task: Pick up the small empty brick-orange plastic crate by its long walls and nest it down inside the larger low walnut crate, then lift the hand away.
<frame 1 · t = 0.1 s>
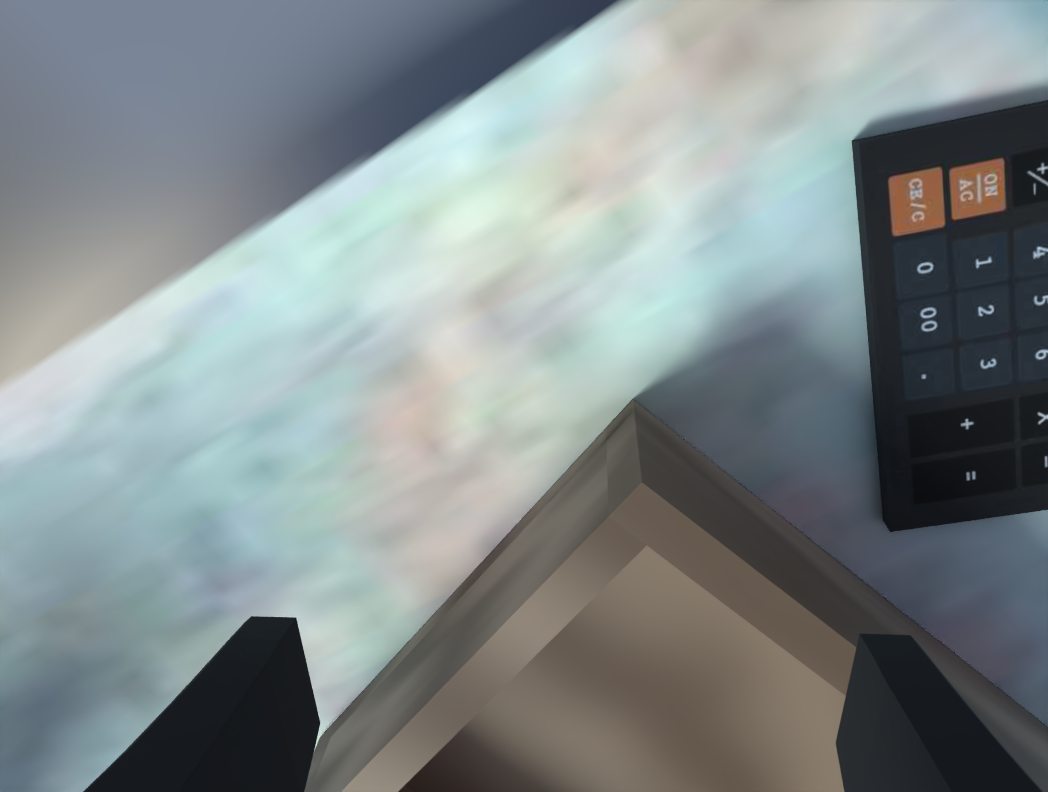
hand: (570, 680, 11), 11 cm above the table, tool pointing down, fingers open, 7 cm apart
walnut crate: (684, 743, 25), on the table
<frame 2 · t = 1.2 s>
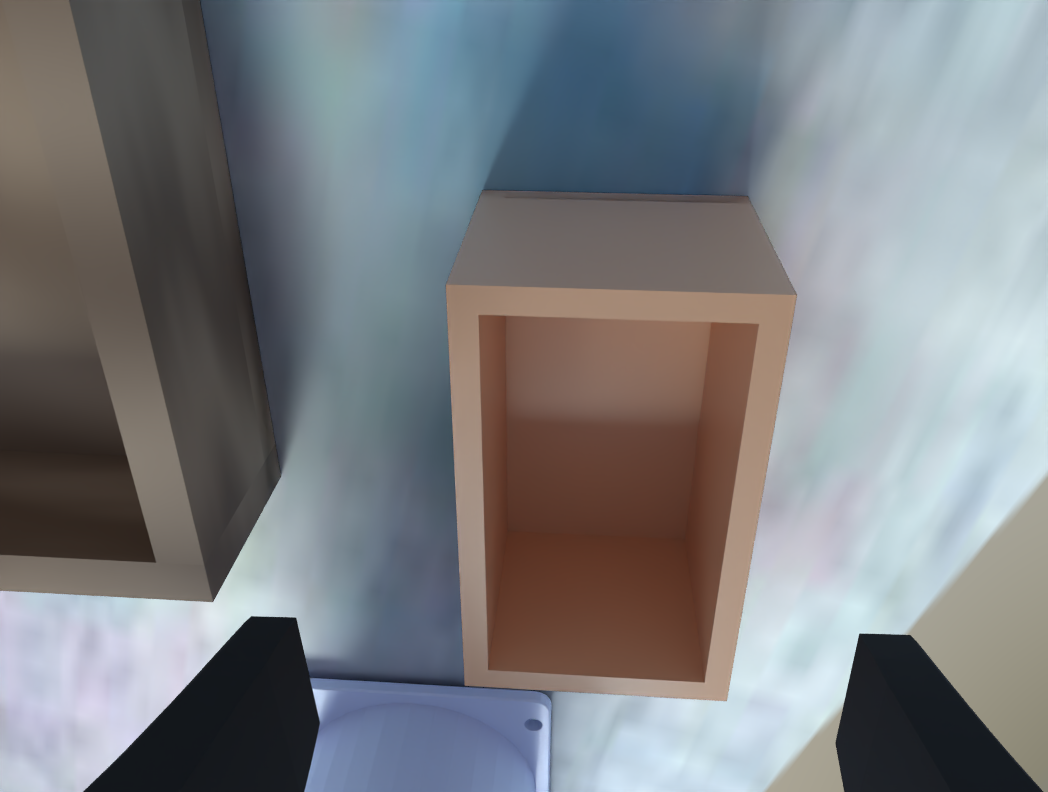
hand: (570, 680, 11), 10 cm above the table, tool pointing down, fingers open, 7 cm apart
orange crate: (603, 385, 20), on the table
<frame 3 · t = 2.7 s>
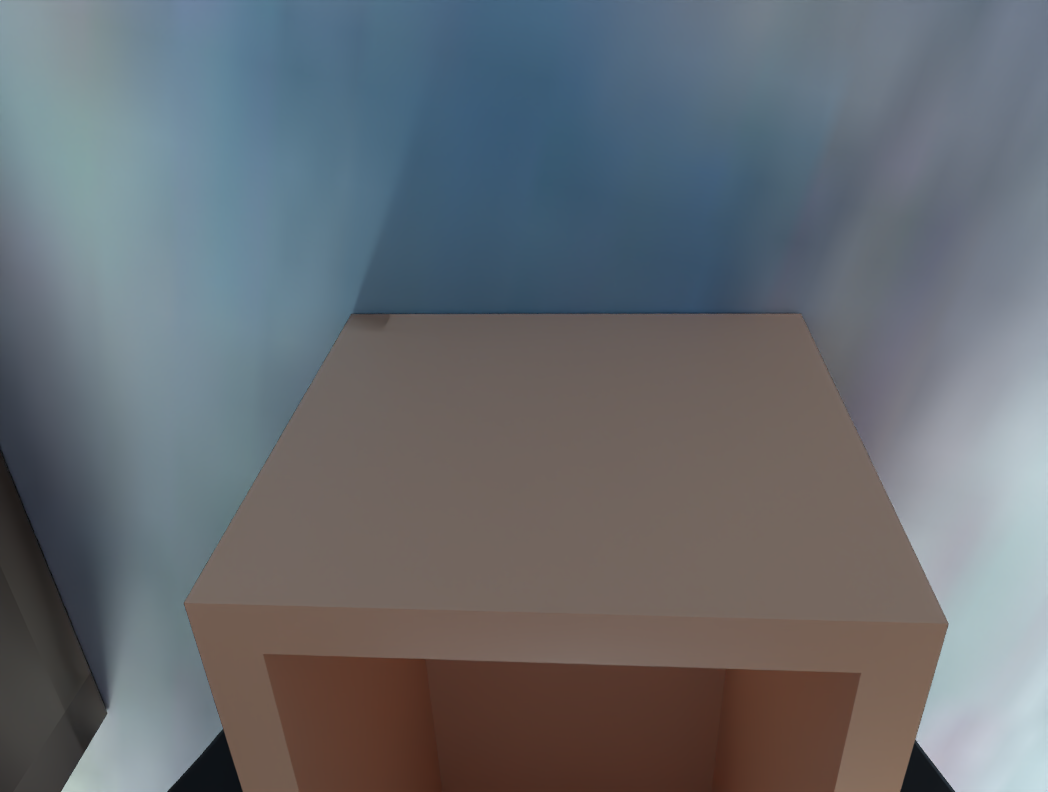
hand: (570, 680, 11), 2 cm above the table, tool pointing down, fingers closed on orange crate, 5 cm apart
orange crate: (573, 593, 13), on the table, touching gripper
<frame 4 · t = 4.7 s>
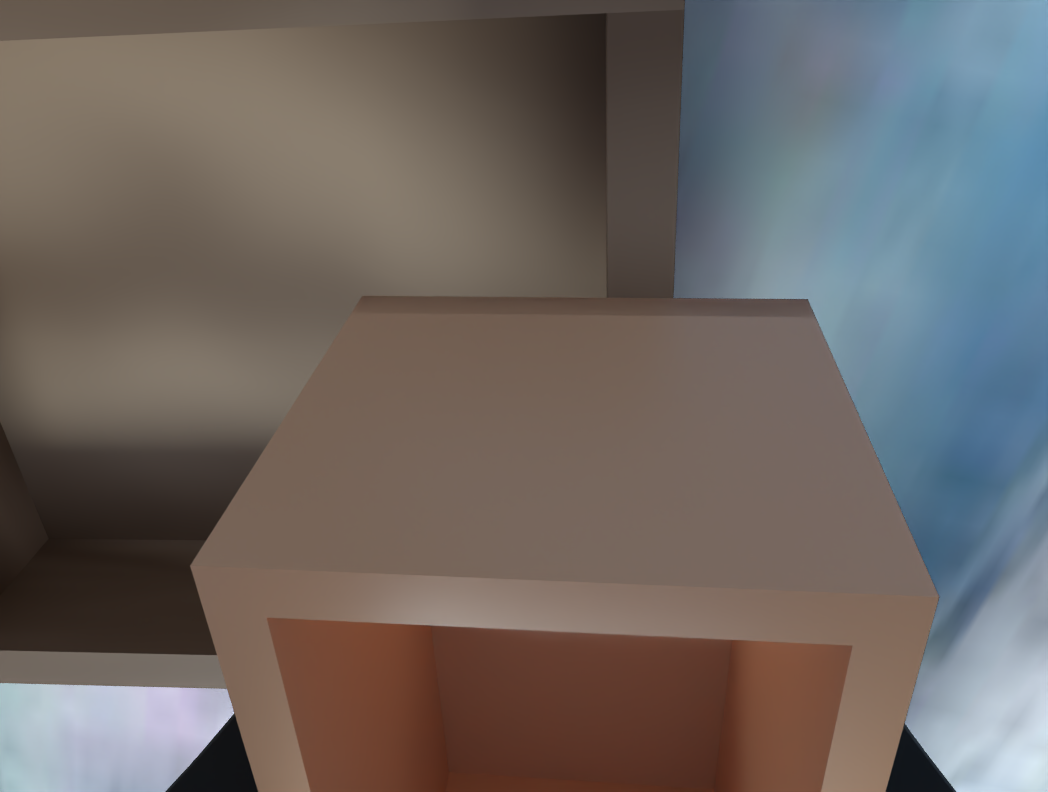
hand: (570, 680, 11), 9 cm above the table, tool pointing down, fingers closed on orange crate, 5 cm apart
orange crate: (580, 577, 13), point 7 cm above the table, touching gripper
walnut crate: (283, 302, 19), on the table
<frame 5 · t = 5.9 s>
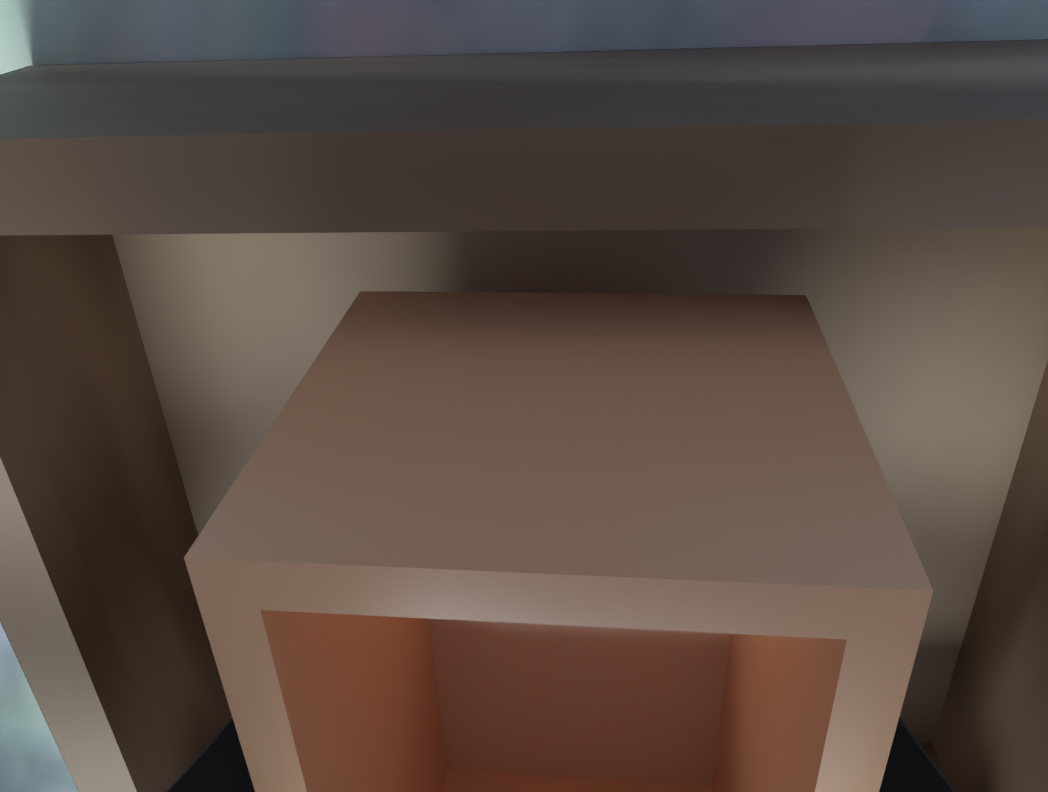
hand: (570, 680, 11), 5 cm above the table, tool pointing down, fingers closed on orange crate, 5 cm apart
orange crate: (578, 574, 13), point 3 cm above the table, touching gripper
walnut crate: (579, 467, 16), on the table
when the fingers open (3 cm above the table, at t = 6.7 s): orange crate stays where it is, resting on walnut crate.
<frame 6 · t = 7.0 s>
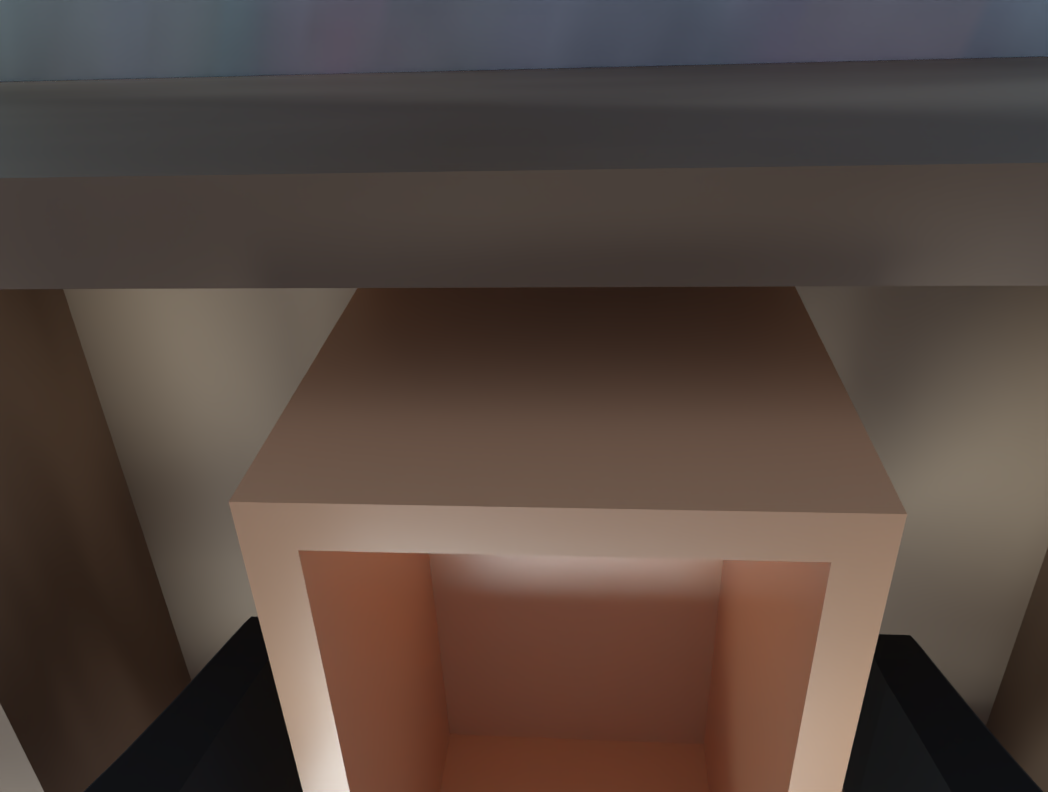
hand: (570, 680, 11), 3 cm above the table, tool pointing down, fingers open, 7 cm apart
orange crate: (574, 541, 13), point 1 cm above the table, touching walnut crate
walnut crate: (576, 517, 14), on the table
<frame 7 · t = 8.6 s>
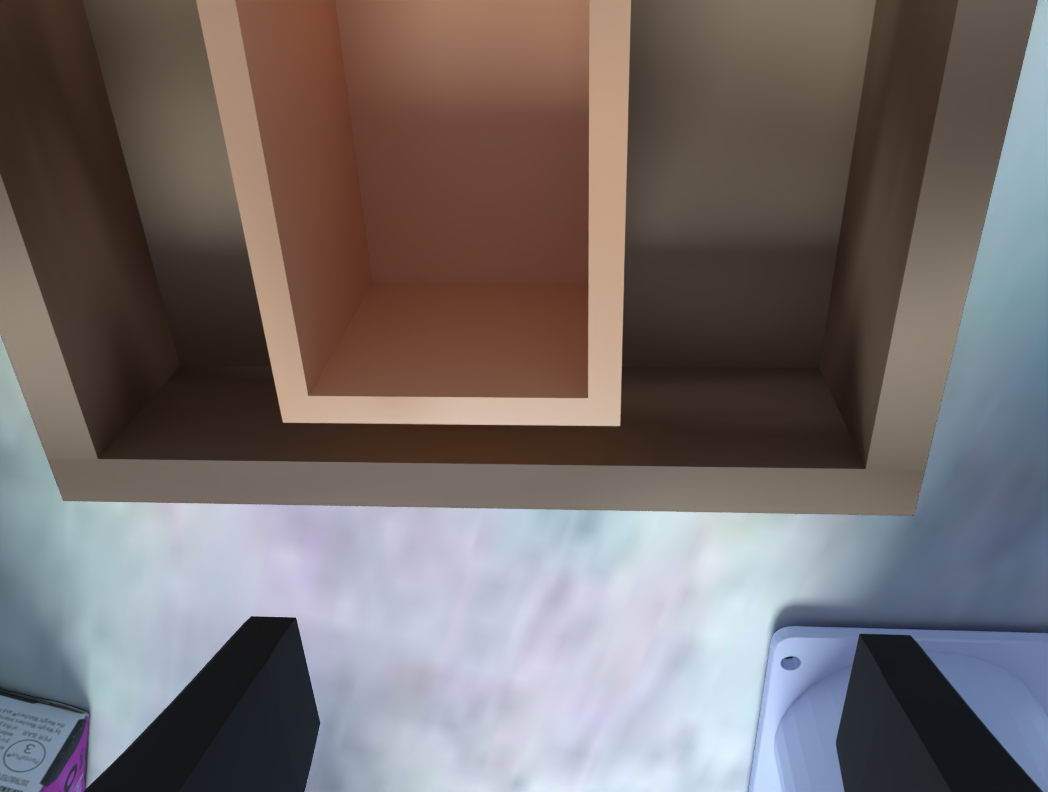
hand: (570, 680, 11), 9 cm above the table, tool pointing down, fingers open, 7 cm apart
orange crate: (470, 68, 16), point 1 cm above the table, touching walnut crate
candy bar box: (27, 787, 30), on the table
walnut crate: (476, 69, 17), on the table
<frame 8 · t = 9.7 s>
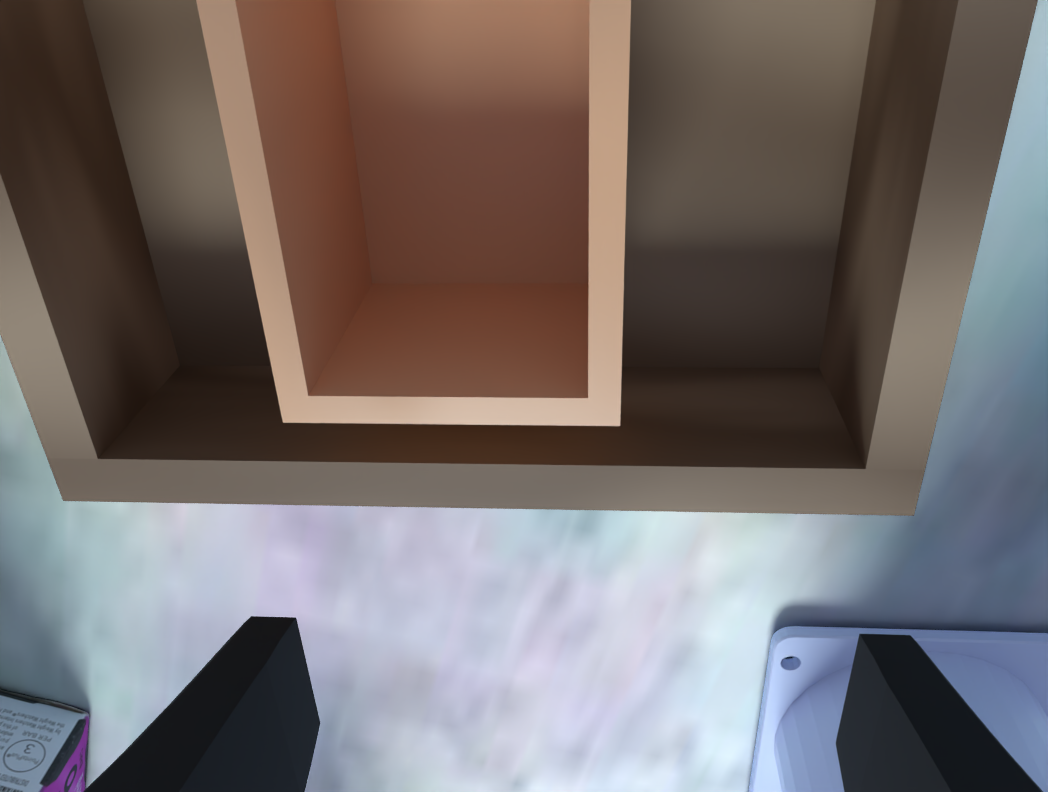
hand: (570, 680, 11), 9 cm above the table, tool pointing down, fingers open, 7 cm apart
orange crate: (470, 68, 16), point 1 cm above the table, touching walnut crate
candy bar box: (27, 787, 30), on the table
walnut crate: (476, 69, 17), on the table
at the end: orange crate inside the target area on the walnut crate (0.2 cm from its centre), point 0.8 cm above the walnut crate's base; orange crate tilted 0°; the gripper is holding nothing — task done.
